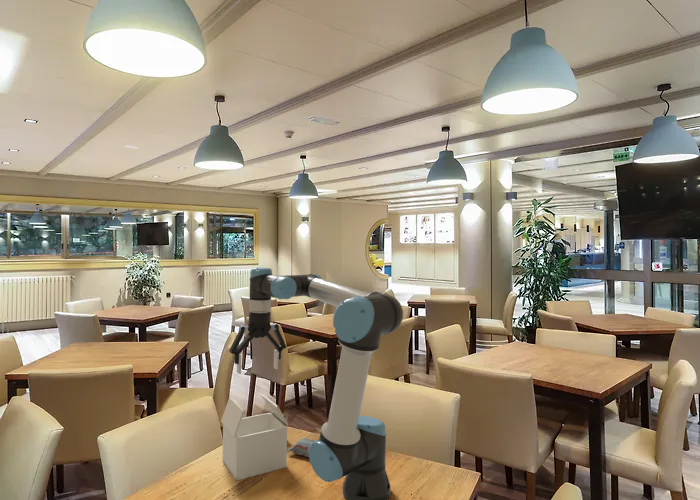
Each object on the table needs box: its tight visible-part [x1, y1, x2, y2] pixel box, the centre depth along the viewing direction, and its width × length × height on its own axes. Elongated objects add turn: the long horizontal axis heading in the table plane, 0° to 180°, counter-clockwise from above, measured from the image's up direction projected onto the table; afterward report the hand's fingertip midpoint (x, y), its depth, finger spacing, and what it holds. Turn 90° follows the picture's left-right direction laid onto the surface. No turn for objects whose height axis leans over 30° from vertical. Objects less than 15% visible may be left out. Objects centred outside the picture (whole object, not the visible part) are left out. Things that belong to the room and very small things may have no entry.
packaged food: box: [287, 437, 315, 458], centre depth 163 cm, size 9×12×5 cm
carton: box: [222, 412, 288, 481], centre depth 155 cm, size 16×18×14 cm
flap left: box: [220, 397, 245, 437], centre depth 151 cm, size 15×8×1 cm
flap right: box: [260, 393, 289, 427], centre depth 159 cm, size 15×8×1 cm
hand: (257, 370), depth 155 cm, fingers open, 13 cm apart
